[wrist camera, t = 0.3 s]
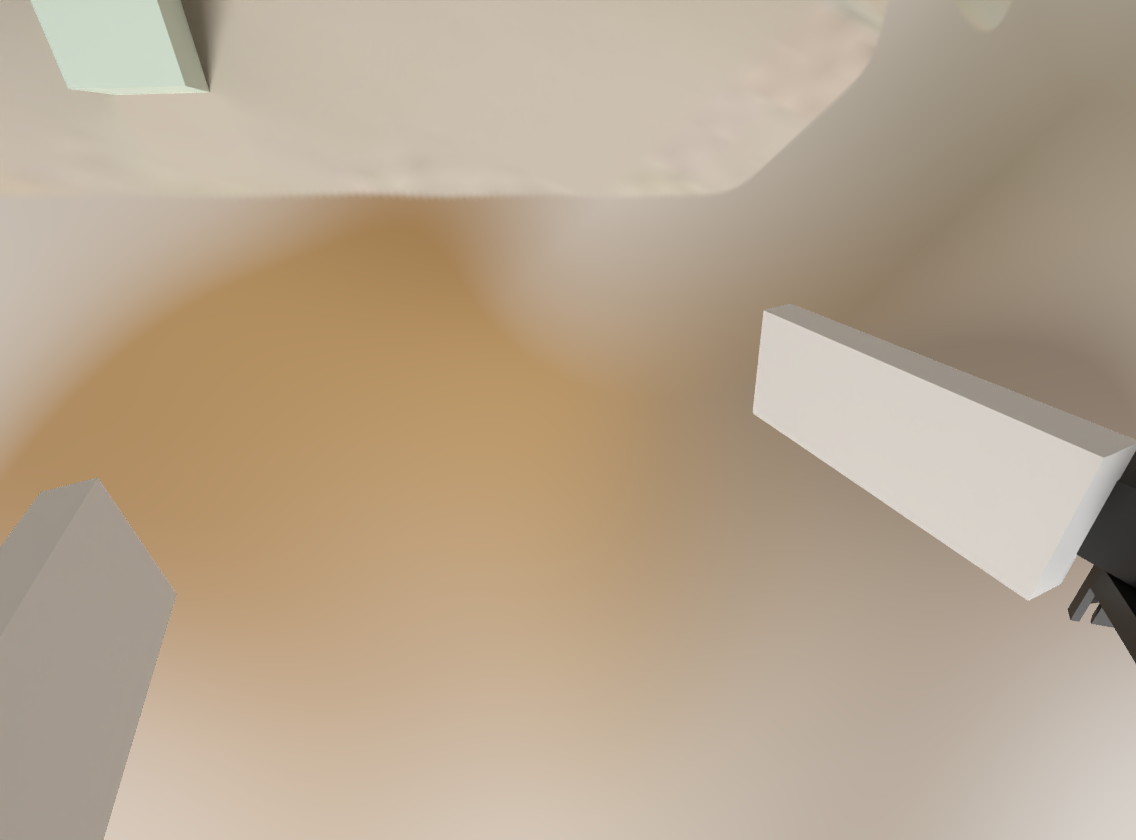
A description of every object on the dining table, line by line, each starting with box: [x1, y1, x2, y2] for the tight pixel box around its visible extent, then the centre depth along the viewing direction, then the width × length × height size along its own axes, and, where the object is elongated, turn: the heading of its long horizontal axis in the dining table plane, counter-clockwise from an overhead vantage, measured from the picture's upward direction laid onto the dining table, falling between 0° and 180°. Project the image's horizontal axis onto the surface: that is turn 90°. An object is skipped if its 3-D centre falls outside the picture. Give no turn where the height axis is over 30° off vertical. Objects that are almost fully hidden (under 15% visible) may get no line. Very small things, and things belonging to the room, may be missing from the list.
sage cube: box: [30, 0, 209, 95], centre depth 23 cm, size 4×4×6 cm
